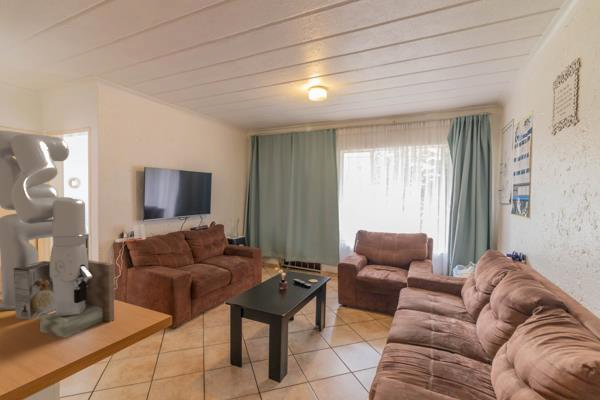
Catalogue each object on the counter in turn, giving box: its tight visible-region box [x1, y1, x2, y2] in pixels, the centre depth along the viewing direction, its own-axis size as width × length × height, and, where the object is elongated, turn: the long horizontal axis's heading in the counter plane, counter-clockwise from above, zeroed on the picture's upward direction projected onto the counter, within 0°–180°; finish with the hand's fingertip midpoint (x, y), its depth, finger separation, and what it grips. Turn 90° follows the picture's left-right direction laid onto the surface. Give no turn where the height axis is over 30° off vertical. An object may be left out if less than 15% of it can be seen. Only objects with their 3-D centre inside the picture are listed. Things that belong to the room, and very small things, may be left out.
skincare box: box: [52, 276, 85, 316], centre depth 85 cm, size 6×4×12 cm
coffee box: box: [14, 260, 56, 321], centre depth 94 cm, size 9×6×16 cm
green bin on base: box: [39, 259, 115, 338], centre depth 88 cm, size 20×12×18 cm, turn 72°
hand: (70, 299), depth 86 cm, fingers closed on skincare box, 7 cm apart
